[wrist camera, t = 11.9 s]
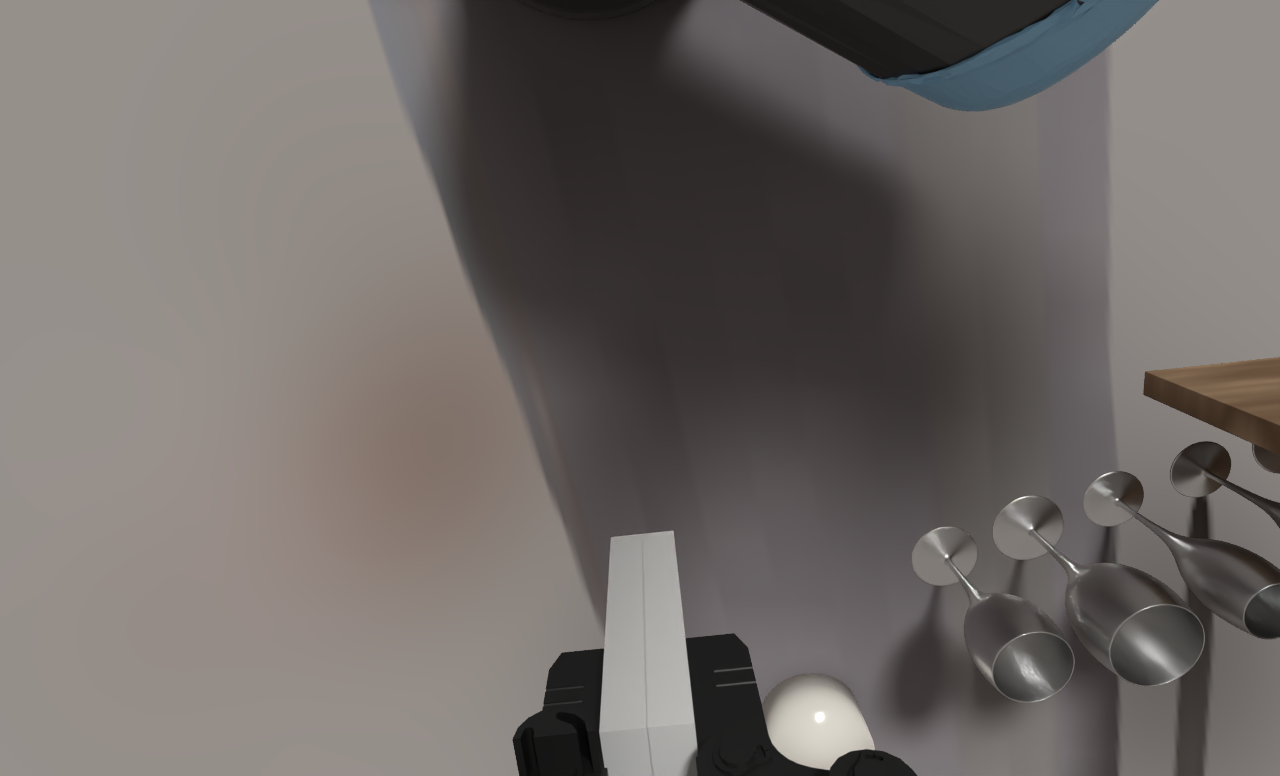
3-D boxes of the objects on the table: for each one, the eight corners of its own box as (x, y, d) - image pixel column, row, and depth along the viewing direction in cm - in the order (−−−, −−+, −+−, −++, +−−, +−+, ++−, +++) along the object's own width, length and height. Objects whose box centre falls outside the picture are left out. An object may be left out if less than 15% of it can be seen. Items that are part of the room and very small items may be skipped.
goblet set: (921, 602, 52) (1014, 743, 39) (898, 530, 51) (987, 653, 38) (1339, 462, 50) (1584, 565, 37) (1328, 383, 48) (1579, 461, 35)
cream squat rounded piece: (756, 678, 54) (765, 717, 50) (855, 667, 54) (873, 706, 50) (763, 760, 56) (772, 804, 52) (859, 750, 56) (876, 793, 52)
